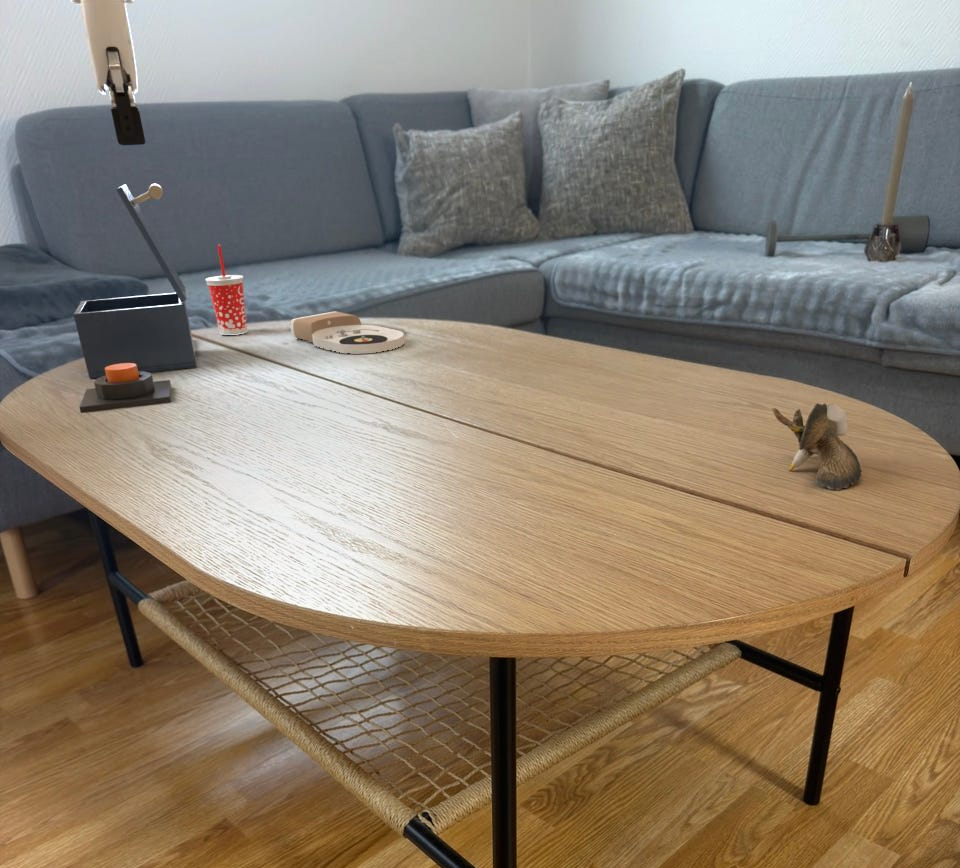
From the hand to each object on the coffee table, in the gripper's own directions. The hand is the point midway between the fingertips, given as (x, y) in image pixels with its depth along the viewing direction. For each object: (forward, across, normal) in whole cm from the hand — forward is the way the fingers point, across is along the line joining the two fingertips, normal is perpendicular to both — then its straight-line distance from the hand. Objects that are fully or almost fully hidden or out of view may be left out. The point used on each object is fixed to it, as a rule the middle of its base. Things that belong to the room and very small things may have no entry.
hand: (132, 144), depth 115 cm
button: (+25, +25, -6) cm, 36 cm away
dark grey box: (+29, -2, -5) cm, 29 cm away
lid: (+12, -2, 0) cm, 13 cm away
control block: (+29, +25, -6) cm, 38 cm away
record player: (+29, -2, +26) cm, 39 cm away
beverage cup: (+29, -20, +10) cm, 37 cm away
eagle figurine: (+29, +76, +53) cm, 98 cm away
